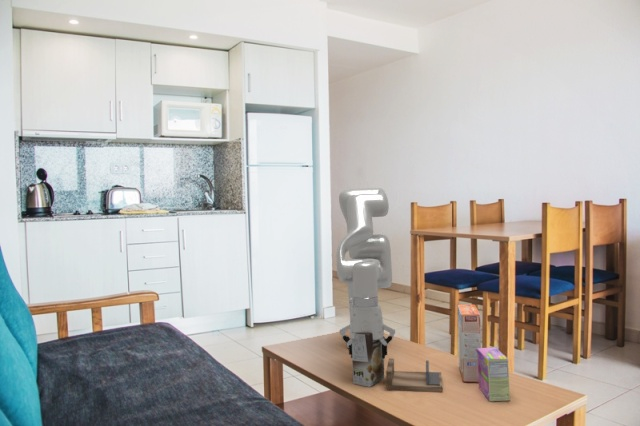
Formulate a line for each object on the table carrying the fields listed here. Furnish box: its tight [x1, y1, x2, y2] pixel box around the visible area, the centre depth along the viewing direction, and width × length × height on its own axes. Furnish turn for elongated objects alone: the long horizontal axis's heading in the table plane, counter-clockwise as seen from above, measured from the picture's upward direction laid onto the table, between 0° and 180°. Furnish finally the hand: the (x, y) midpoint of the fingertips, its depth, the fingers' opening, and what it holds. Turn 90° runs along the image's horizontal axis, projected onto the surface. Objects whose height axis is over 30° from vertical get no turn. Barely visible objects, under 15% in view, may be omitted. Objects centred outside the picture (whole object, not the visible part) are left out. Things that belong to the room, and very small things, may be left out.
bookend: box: [425, 360, 440, 386], centre depth 152 cm, size 10×4×4 cm, turn 168°
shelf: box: [385, 358, 444, 393], centre depth 153 cm, size 12×16×6 cm
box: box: [477, 347, 510, 402], centre depth 142 cm, size 10×6×12 cm, turn 178°
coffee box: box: [351, 332, 385, 388], centre depth 157 cm, size 9×6×16 cm
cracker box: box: [457, 304, 482, 383], centre depth 158 cm, size 14×6×21 cm, turn 168°
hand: (368, 357), depth 156 cm, fingers open, 9 cm apart
